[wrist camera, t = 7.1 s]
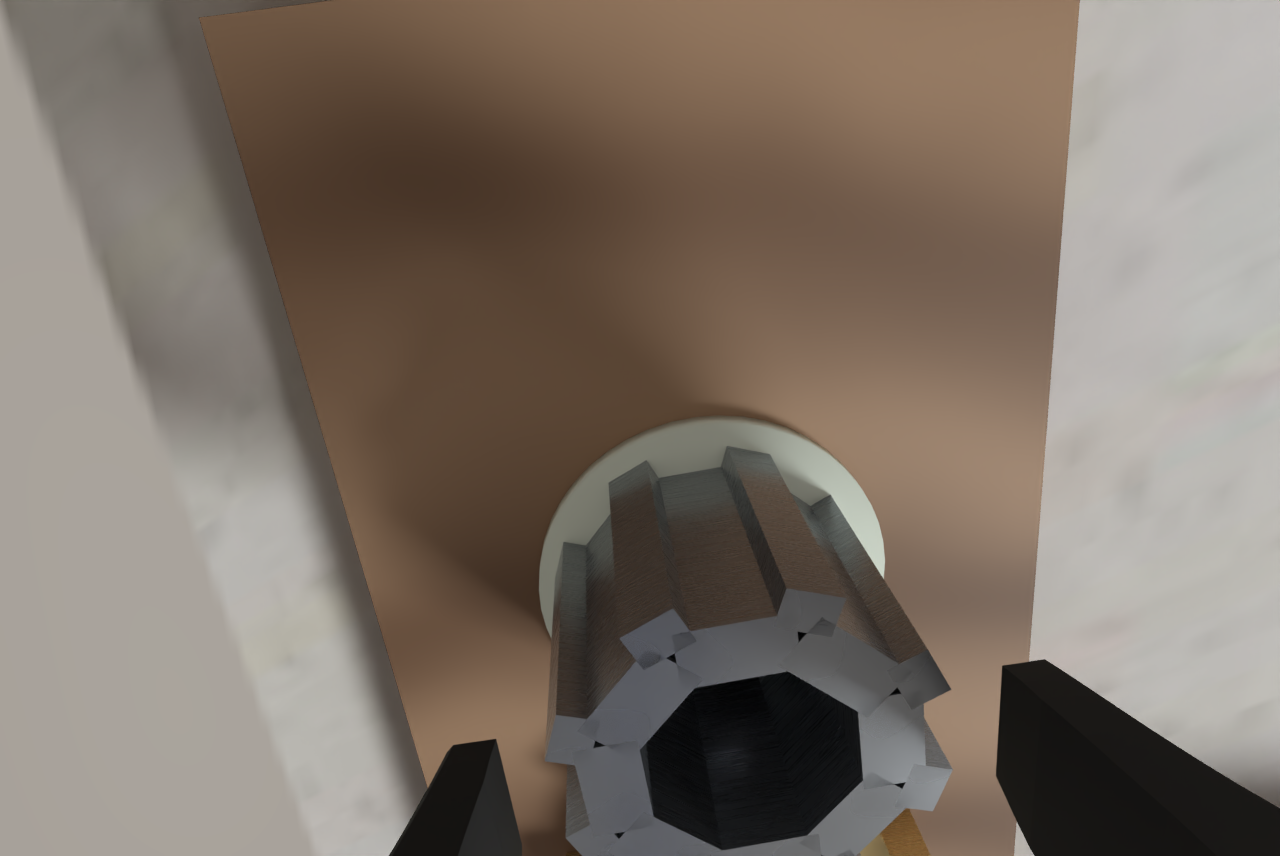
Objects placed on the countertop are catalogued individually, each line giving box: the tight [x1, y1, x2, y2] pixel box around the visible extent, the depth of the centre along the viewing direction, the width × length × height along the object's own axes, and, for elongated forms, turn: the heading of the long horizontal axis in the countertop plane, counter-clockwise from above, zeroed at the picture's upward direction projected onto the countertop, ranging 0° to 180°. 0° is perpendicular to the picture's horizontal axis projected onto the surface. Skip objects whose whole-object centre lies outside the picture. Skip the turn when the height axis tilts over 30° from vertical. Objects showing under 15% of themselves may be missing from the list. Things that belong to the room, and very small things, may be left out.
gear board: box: [199, 0, 1080, 856], centre depth 16 cm, size 23×13×4 cm, turn 7°
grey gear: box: [545, 446, 953, 856], centre depth 13 cm, size 6×6×4 cm
